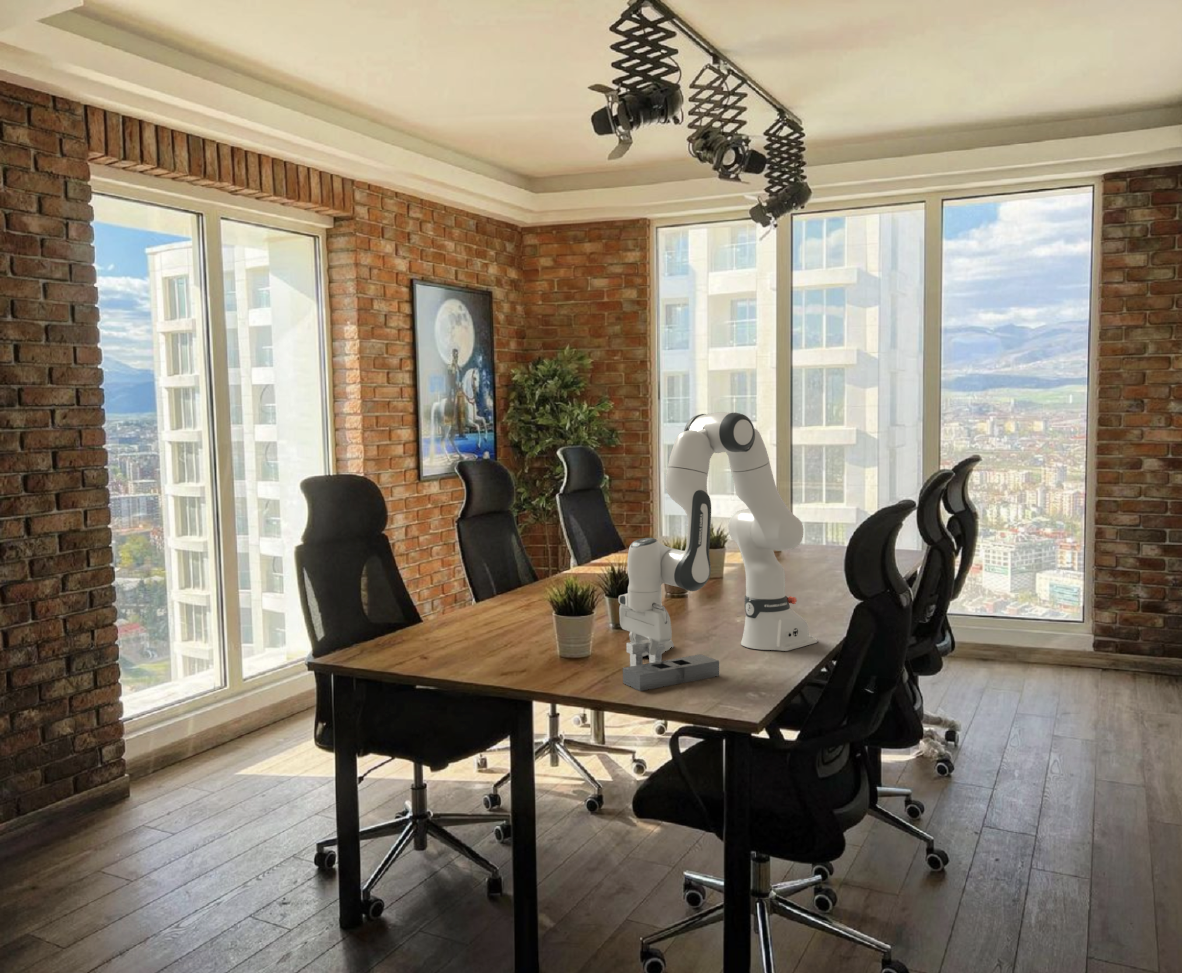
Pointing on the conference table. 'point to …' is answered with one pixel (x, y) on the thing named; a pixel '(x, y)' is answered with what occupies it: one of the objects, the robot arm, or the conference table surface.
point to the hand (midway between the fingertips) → (645, 652)
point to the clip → (641, 647)
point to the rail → (670, 672)
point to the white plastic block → (667, 644)
